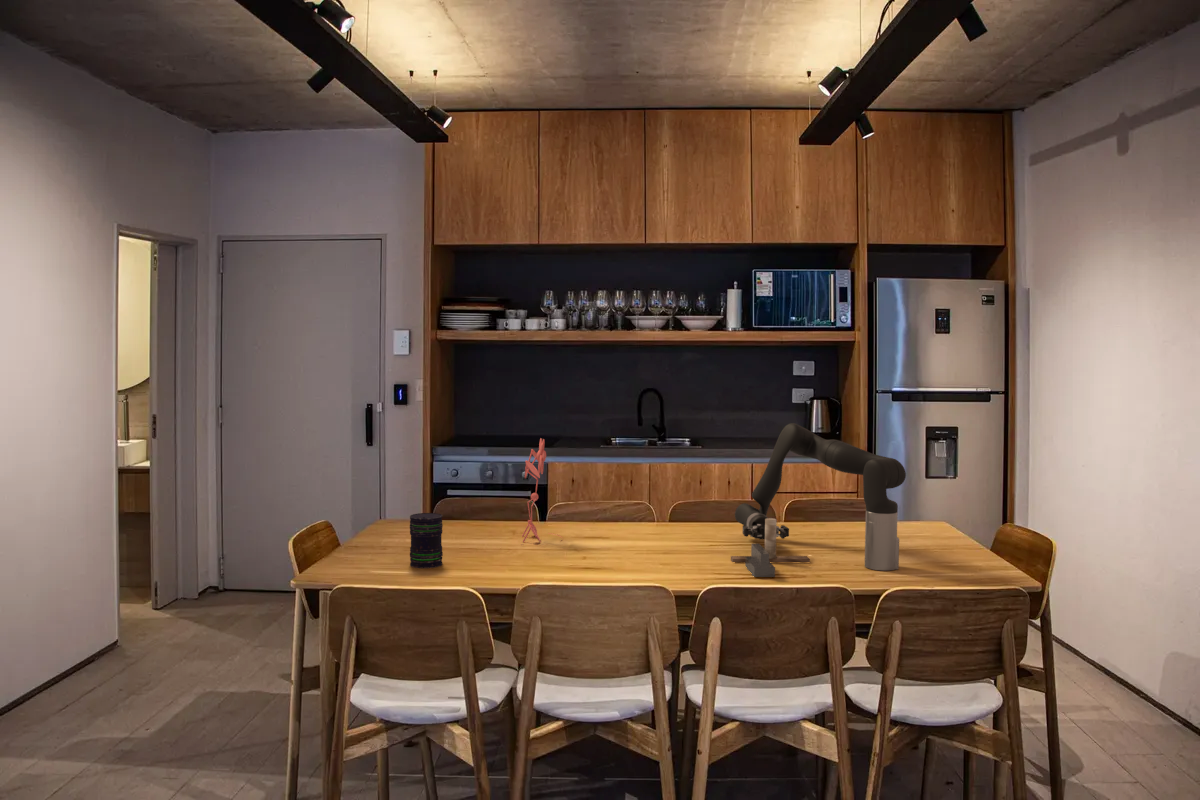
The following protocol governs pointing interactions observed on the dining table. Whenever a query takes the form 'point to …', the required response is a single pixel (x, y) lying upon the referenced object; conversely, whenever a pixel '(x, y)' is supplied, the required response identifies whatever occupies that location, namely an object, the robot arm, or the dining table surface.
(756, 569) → the ridge
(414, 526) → the storage jar
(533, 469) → the figurine
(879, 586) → the dining table surface
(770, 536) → the balance bar
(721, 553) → the dining table surface
